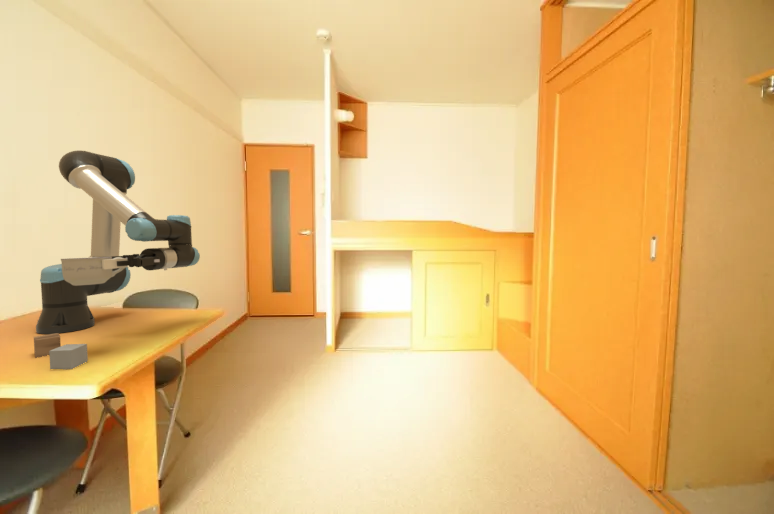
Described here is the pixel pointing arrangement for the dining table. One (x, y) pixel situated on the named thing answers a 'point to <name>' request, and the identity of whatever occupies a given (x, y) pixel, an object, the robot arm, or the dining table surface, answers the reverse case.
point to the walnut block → (46, 344)
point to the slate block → (68, 356)
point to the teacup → (87, 270)
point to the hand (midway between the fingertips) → (87, 263)
